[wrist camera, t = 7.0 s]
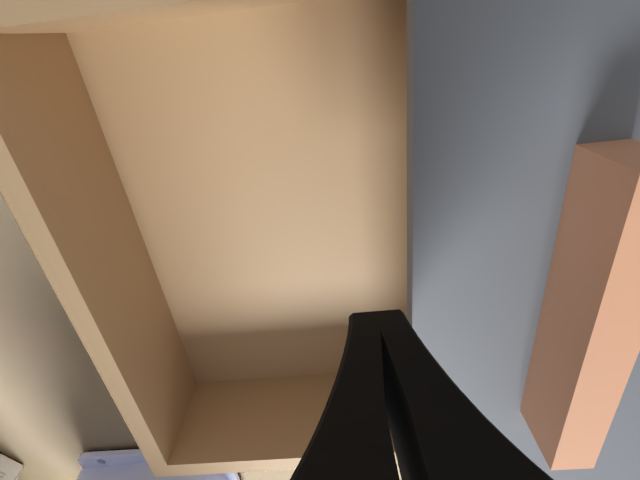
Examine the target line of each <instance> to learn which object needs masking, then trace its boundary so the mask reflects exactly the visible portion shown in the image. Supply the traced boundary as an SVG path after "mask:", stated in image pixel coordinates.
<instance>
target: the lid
mask: <svg viewBox="0 0 640 480" xmlns="http://www.w3.org/2000/svg"><path fill="white" fill-rule="evenodd" d="M407 320H408V321H409V323H410V324H411V326H412V328H413V329H414V331H415V332H416V334H417V335H418V336H419V338H420V339H421V341H422V342H423V344H424V345H425V346H426V348H427V349H428V350H429V352H430V353H431V354H432V356H433V357H434V358H435V359H436V361H437V362H438V363H439V364H440V366H441V367H442V368H443V370H444V371H445V372H446V373H447V375H448V376H449V377H450V378H451V379H452V380H453V382H454V383H455V384H456V385H457V386H458V387H459V389H460V390H461V391H462V392H463V393H464V394H465V395H466V396H467V398H468V399H469V400H470V401H471V402H472V403H473V404H474V405H475V406H476V407H477V408H478V409H479V411H480V412H481V413H482V414H483V415H484V416H485V417H486V418H487V419H488V420H489V421H490V422H491V423H492V424H493V425H494V426H495V427H496V428H497V429H498V430H499V431H500V432H501V433H502V434H503V435H504V436H505V437H506V438H508V439H509V440H510V441H511V442H512V443H513V444H514V445H515V446H516V447H517V448H518V449H519V450H520V451H522V452H523V453H524V454H525V455H526V456H527V457H528V458H529V459H530V460H531V461H532V462H534V463H535V464H536V465H537V466H538V467H539V468H541V469H542V470H543V471H544V472H545V473H547V474H548V475H549V476H550V477H551V478H553V479H554V480H640V0H407Z"/></svg>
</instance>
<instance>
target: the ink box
mask: <svg viewBox="0 0 640 480" xmlns="http://www.w3.org/2000/svg"><path fill="white" fill-rule="evenodd" d="M22 470H23V465H22V464H20V463H18V462H16V461H14V460H12V459H10V458H8V457H7V456H5V455H3V454H1V453H0V480H16V479H17V478H18V476H19V475H20V473H21V472H22Z"/></svg>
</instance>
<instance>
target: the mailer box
mask: <svg viewBox="0 0 640 480" xmlns="http://www.w3.org/2000/svg"><path fill="white" fill-rule="evenodd" d="M0 192H1V194H2V196H3V198H4V200H5V202H6V203H7V205H8V207H9V209H10V211H11V213H12V214H13V216H14V218H15V220H16V222H17V224H18V226H19V227H20V229H21V231H22V233H23V235H24V237H25V238H26V240H27V242H28V244H29V246H30V248H31V249H32V251H33V253H34V255H35V257H36V259H37V261H38V262H39V264H40V266H41V268H42V270H43V272H44V273H45V275H46V277H47V279H48V281H49V283H50V285H51V286H52V288H53V290H54V292H55V294H56V296H57V297H58V299H59V301H60V303H61V305H62V307H63V308H64V310H65V312H66V314H67V316H68V318H69V320H70V321H71V323H72V325H73V327H74V329H75V331H76V332H77V334H78V336H79V338H80V340H81V342H82V343H83V345H84V347H85V349H86V351H87V353H88V355H89V356H90V358H91V360H92V362H93V364H94V366H95V367H96V369H97V371H98V373H99V375H100V377H101V378H102V380H103V382H104V384H105V386H106V388H107V390H108V391H109V393H110V395H111V397H112V399H113V401H114V402H115V404H116V406H117V408H118V410H119V412H120V413H121V415H122V417H123V419H124V421H125V423H126V425H127V426H128V428H129V430H130V432H131V434H132V436H133V437H134V439H135V441H136V443H137V445H138V447H139V449H140V450H141V452H142V454H143V456H144V458H145V460H146V461H147V463H148V465H149V467H150V469H151V471H152V472H153V474H154V476H155V477H166V476H185V475H203V474H222V473H241V472H259V471H278V470H295V469H296V467H297V466H298V464H299V462H300V460H301V458H302V456H303V454H304V452H305V450H306V448H307V446H308V444H309V442H310V440H311V438H312V436H313V434H314V431H315V429H316V427H317V425H318V423H319V420H320V418H321V416H322V413H323V411H324V408H325V406H326V403H327V400H328V398H329V395H330V392H331V390H332V387H333V384H334V382H335V379H336V376H337V373H338V369H339V366H340V362H341V359H342V356H343V352H344V348H345V343H346V339H347V333H348V325H349V316H350V315H351V314H352V313H359V312H371V311H384V310H396V309H400V310H401V311H402V312H403V313H404V314H405V316H406V318H407V0H0ZM390 434H391V432H390ZM391 439H392V437H391ZM392 444H393V441H392ZM393 450H394V455H395V460H396V464H398V461H397V457H396V453H395V449H394V445H393Z"/></svg>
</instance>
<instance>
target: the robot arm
mask: <svg viewBox="0 0 640 480" xmlns="http://www.w3.org/2000/svg"><path fill="white" fill-rule="evenodd" d="M390 432H391V434H390ZM391 437H392V439H391ZM392 441H393V444H392ZM393 445H394V449H395V453H396V457H397V461H398V465H399V469H400V474H401V478H402V480H554V479H553V478H551V477H550V476H549V475H548V474H547V473H545V472H544V471H543V470H542V469H541V468H539V467H538V466H537V465H536V464H535V463H534V462H532V461H531V460H530V459H529V458H528V457H527V456H526V455H525V454H524V453H523V452H522V451H520V450H519V449H518V448H517V447H516V446H515V445H514V444H513V443H512V442H511V441H510V440H509V439H508V438H506V437H505V436H504V435H503V434H502V433H501V432H500V431H499V430H498V429H497V428H496V427H495V426H494V425H493V424H492V423H491V422H490V421H489V420H488V419H487V418H486V417H485V416H484V415H483V414H482V413H481V412H480V411H479V409H478V408H477V407H476V406H475V405H474V404H473V403H472V402H471V401H470V400H469V399H468V398H467V396H466V395H465V394H464V393H463V392H462V391H461V390H460V389H459V387H458V386H457V385H456V384H455V383H454V382H453V380H452V379H451V378H450V377H449V376H448V375H447V373H446V372H445V371H444V370H443V368H442V367H441V366H440V364H439V363H438V362H437V361H436V359H435V358H434V357H433V356H432V354H431V353H430V352H429V350H428V349H427V348H426V346H425V345H424V344H423V342H422V341H421V339H420V338H419V336H418V335H417V334H416V332H415V331H414V329H413V328H412V326H411V324H410V323H409V321H408V320H407V318H406V316H405V314H404V313H403V312H402V311H401V310H400V309H396V310H384V311H371V312H359V313H352V314H351V315H350V316H349V325H348V333H347V339H346V343H345V348H344V352H343V356H342V359H341V362H340V366H339V369H338V373H337V376H336V379H335V382H334V384H333V387H332V390H331V392H330V395H329V398H328V400H327V403H326V406H325V408H324V411H323V413H322V416H321V418H320V420H319V423H318V425H317V427H316V429H315V431H314V434H313V436H312V438H311V440H310V442H309V444H308V446H307V448H306V450H305V452H304V454H303V456H302V458H301V460H300V462H299V464H298V466H297V467H296V469H295V471H294V473H293V475H292V477H291V479H290V480H399V475H398V470H397V465H396V460H395V455H394V450H393ZM78 461H79V463H80V465H81V466H82V468H83V469H82V471H81V473H80V474H79V476H78V478H77V480H240V478H239V476H238V473H222V474H203V475H185V476H166V477H155V476H154V474H153V472H152V471H151V469H150V467H149V465H148V463H147V461H146V460H145V458H144V456H143V454H142V452H141V450H140V449H130V450H113V451H96V452H84V453H82V454H81V456H80V458H79V460H78Z"/></svg>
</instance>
